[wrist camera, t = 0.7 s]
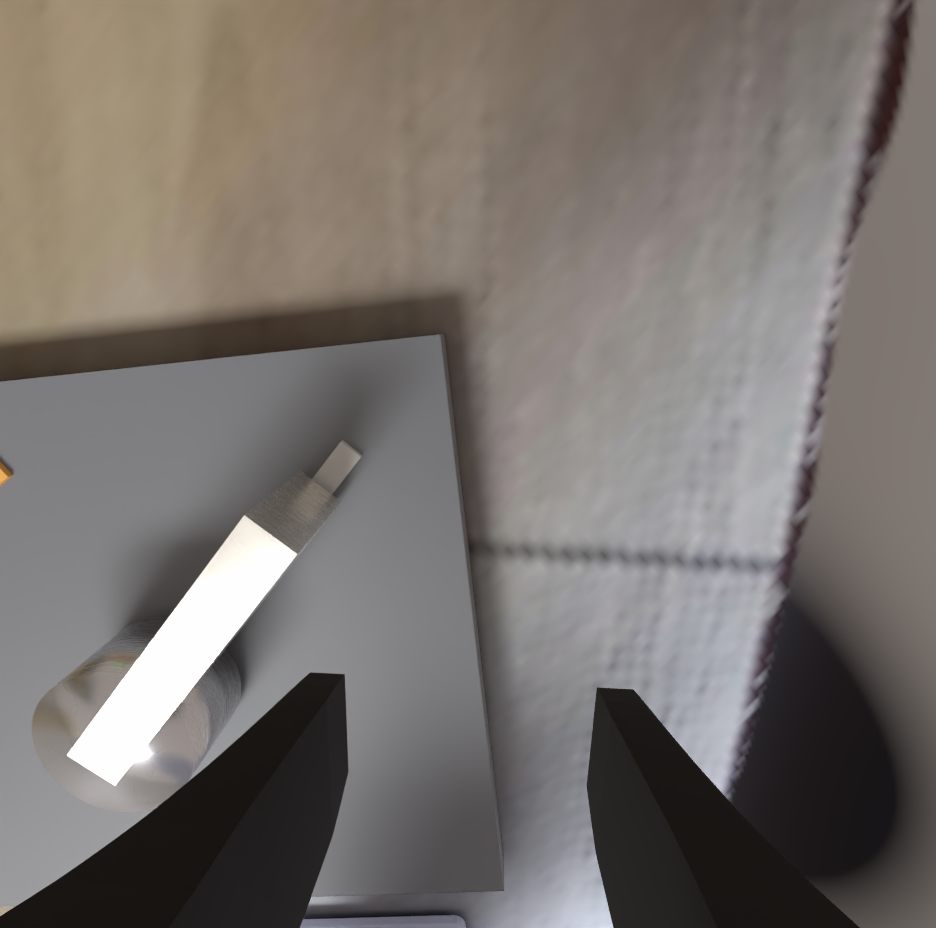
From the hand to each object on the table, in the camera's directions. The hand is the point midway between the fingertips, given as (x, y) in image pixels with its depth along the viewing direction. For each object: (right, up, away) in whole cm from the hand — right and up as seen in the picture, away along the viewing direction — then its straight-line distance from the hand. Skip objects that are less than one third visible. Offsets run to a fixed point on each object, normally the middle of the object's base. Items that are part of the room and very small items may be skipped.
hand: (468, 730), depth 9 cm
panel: (-11, -3, +12) cm, 16 cm away
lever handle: (-8, -1, +9) cm, 13 cm away
